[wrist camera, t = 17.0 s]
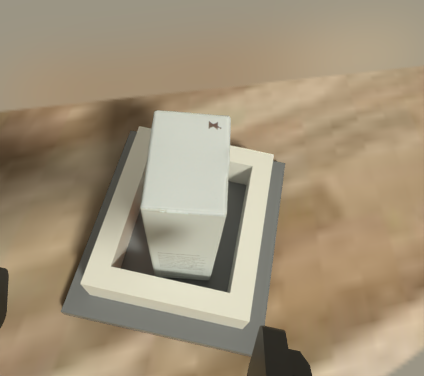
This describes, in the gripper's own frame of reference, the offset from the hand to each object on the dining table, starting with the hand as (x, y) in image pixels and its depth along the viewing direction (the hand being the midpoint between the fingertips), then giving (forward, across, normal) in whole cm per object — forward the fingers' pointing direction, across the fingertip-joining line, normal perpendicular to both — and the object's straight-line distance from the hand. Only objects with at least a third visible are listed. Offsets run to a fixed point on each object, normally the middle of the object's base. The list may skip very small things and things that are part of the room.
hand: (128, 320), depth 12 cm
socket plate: (+18, 0, +5) cm, 19 cm away
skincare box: (+17, 0, +5) cm, 18 cm away
